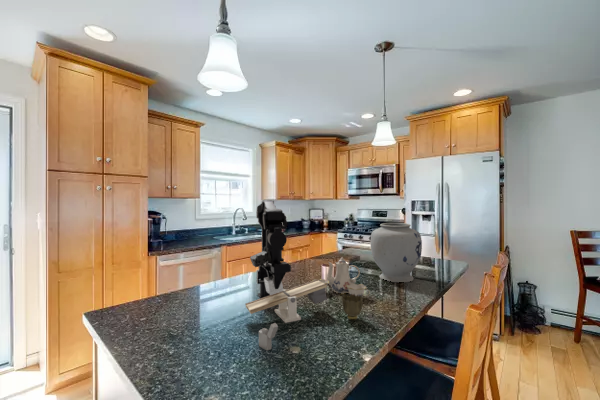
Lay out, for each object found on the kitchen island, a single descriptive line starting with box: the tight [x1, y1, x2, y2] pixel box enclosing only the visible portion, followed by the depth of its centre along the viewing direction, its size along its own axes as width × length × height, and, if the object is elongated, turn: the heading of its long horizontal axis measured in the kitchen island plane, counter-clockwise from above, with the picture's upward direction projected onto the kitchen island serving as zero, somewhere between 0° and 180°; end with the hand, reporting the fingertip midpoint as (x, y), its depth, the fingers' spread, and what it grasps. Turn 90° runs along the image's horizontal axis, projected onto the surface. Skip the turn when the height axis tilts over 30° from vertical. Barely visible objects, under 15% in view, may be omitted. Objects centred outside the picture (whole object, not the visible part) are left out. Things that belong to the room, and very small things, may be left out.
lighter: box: [258, 322, 279, 351], centre depth 83 cm, size 7×2×8 cm, turn 45°
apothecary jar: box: [370, 222, 423, 283], centre depth 157 cm, size 27×27×30 cm
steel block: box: [264, 275, 284, 295], centre depth 105 cm, size 5×5×5 cm
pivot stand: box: [274, 288, 302, 324], centre depth 107 cm, size 12×6×8 cm, turn 25°
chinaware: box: [311, 256, 371, 298], centre depth 133 cm, size 28×17×17 cm, turn 68°
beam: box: [244, 279, 328, 315], centre depth 107 cm, size 7×30×6 cm, turn 115°
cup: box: [341, 293, 364, 321], centre depth 103 cm, size 8×7×8 cm
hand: (274, 287), depth 105 cm, fingers closed on steel block, 5 cm apart
